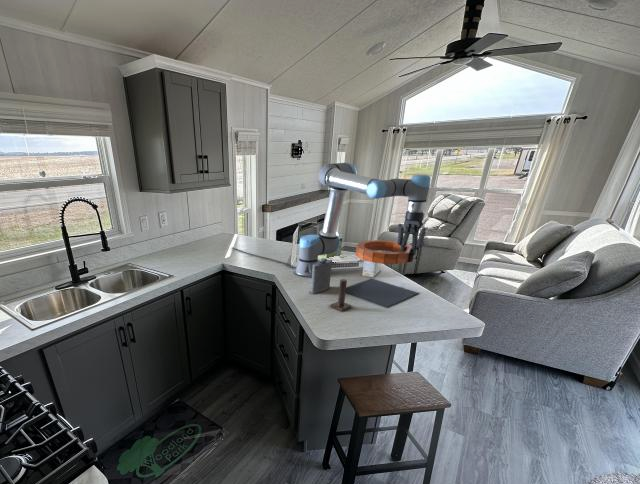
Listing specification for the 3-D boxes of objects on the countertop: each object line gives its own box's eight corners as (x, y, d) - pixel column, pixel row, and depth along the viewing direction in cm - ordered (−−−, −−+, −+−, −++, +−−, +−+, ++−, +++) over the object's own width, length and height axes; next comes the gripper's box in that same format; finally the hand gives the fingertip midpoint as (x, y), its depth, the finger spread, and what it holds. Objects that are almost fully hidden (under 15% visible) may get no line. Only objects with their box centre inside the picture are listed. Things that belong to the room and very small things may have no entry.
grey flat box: (331, 287, 183) (334, 256, 176) (315, 294, 175) (317, 262, 168) (326, 286, 186) (329, 255, 178) (309, 292, 178) (311, 260, 170)
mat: (340, 290, 179) (340, 289, 179) (371, 279, 193) (372, 278, 193) (387, 307, 158) (387, 306, 158) (418, 293, 172) (418, 292, 172)
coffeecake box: (368, 268, 211) (372, 239, 203) (380, 270, 207) (384, 240, 199) (361, 275, 200) (365, 244, 192) (373, 277, 196) (378, 245, 188)
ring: (345, 255, 171) (346, 245, 169) (376, 246, 184) (378, 237, 182) (393, 267, 150) (394, 257, 148) (424, 256, 164) (426, 247, 162)
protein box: (314, 260, 230) (315, 239, 224) (329, 256, 238) (330, 235, 232) (325, 264, 222) (327, 241, 216) (340, 260, 230) (342, 238, 224)
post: (330, 306, 161) (332, 279, 155) (339, 302, 164) (342, 276, 159) (341, 311, 155) (344, 284, 150) (351, 307, 159) (354, 280, 153)
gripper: (394, 210, 153) (386, 258, 162) (428, 214, 140) (418, 266, 150) (403, 208, 157) (395, 255, 166) (437, 212, 144) (427, 263, 154)
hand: (406, 260), depth 158 cm, fingers closed on ring, 3 cm apart
